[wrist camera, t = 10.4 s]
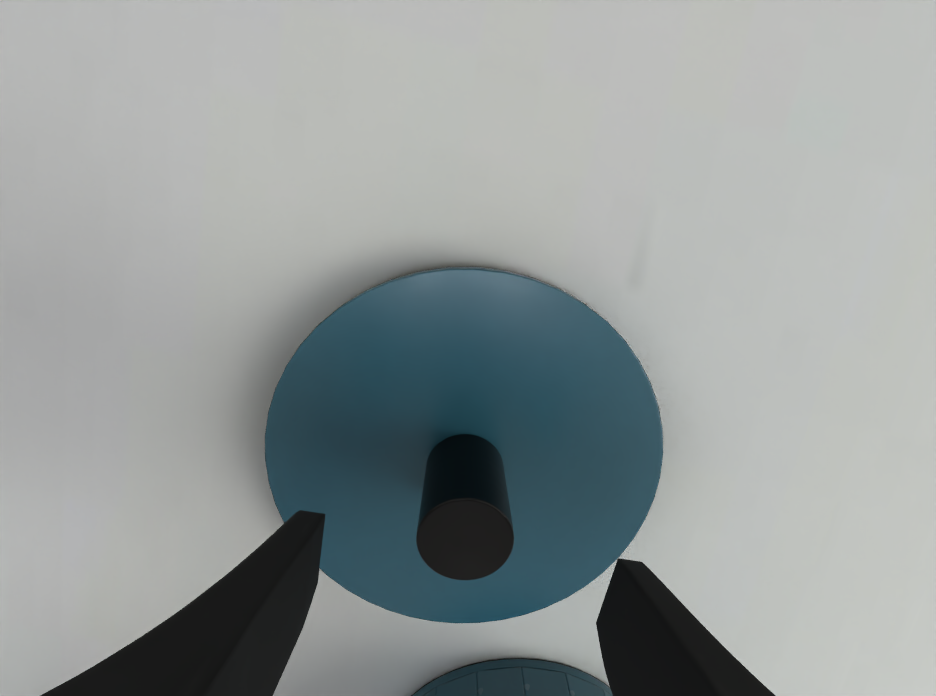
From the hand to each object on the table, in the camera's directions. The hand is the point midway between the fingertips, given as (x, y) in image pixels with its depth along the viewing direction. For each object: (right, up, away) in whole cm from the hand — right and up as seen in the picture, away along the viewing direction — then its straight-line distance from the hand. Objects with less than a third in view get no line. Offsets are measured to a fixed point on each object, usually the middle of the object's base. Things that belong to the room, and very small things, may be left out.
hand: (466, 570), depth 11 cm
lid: (0, +1, +5) cm, 5 cm away
